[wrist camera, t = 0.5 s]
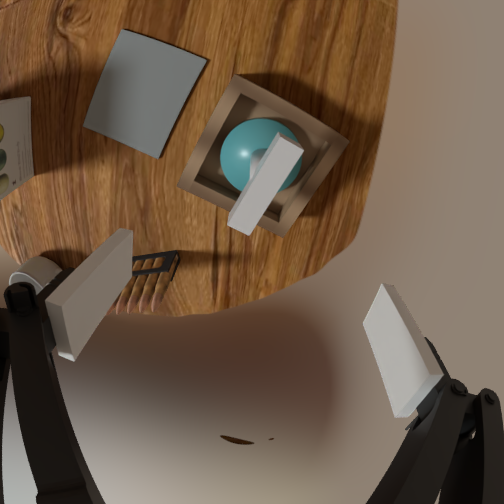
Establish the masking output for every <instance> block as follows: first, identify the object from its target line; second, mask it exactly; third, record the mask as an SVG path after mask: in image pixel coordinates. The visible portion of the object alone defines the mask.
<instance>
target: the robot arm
mask: <svg viewBox="0 0 504 504" xmlns="http://www.w3.org/2000/svg"><path fill="white" fill-rule="evenodd" d="M132 246H133V231H132V230H127V229H123V228H119V229H118V230H117V231H116V232H115V233H114V234H112V235H111V236H110V237H109V238H108V239H107V240H106V241H105V242H104V243H103V244H101V245H100V246H99V247H98V248H97V249H96V250H95V251H94V252H93V253H92V254H91V255H90V256H89V257H88V258H87V259H85V260H84V261H83V262H82V263H81V264H80V265H79V266H78V267H77V268H76V269H74V268H71V267H69V268H67V269H65V270H63V271H61V272H60V273H59V274H58V275H56V276H55V277H54V279H52V280H51V281H50V282H49V284H47V285H46V286H45V287H44V288H43V289H42V290H41V291H40V292H39V293H38V294H37V295H36V291H35V288H34V286H33V285H32V284H31V283H28V282H17V283H13V284H12V285H10V286H8V287H7V289H6V290H5V292H4V298H5V302H6V305H7V309H6V308H0V504H4V495H3V480H2V434H3V417H4V406H5V397H6V390H7V383H8V376H9V369H10V364H11V370H12V380H13V387H14V395H15V402H16V408H17V413H18V419H19V424H20V429H21V433H22V438H23V442H24V446H25V450H26V454H27V457H28V461H29V464H30V467H31V471H32V474H33V477H34V480H35V483H36V486H37V490H38V494H37V496H36V503H37V504H105V502H104V500H103V498H102V496H101V494H100V492H99V490H98V488H97V486H96V484H95V482H94V480H93V478H92V475H91V473H90V471H89V469H88V466H87V464H86V461H85V459H84V457H83V454H82V452H81V449H80V446H79V444H78V441H77V439H76V436H75V433H74V430H73V427H72V424H71V421H70V418H69V416H68V412H67V409H66V406H65V402H64V399H63V395H62V392H61V388H60V384H59V381H58V377H57V372H56V368H55V364H54V360H53V355H52V352H51V351H52V350H53V349H54V347H55V346H56V347H57V350H58V354H59V356H62V357H64V358H67V359H69V360H72V361H75V360H76V358H77V357H78V355H79V353H80V352H81V350H82V349H83V347H84V346H85V344H86V343H87V341H88V339H89V338H90V336H91V335H92V333H93V332H94V330H95V329H96V327H97V326H98V324H99V323H100V321H101V320H102V319H103V317H104V315H105V314H106V313H107V311H108V310H109V308H110V307H111V306H112V304H113V303H114V301H115V300H116V298H117V297H118V296H119V294H120V293H121V291H122V290H123V289H124V287H125V286H126V284H127V283H128V282H129V280H130V279H131V278H132ZM363 325H364V328H365V331H366V333H367V336H368V339H369V342H370V344H371V347H372V350H373V353H374V355H375V358H376V361H377V364H378V367H379V370H380V373H381V376H382V379H383V382H384V385H385V388H386V391H387V394H388V397H389V400H390V403H391V407H392V410H393V413H394V416H395V417H409V416H410V414H412V413H413V411H414V410H415V409H417V412H418V414H419V415H418V416H417V417H416V418H415V419H414V420H413V421H412V422H411V423H410V424H409V425H408V426H407V428H406V429H405V430H408V429H409V428H410V429H409V431H408V433H407V435H406V437H405V439H404V441H403V443H402V445H401V447H400V449H399V450H398V452H397V454H396V456H395V458H394V459H393V461H392V463H391V465H390V467H389V468H388V470H387V471H386V473H385V475H384V477H383V478H382V480H381V481H380V483H379V485H378V486H377V488H376V489H375V491H374V492H373V494H372V496H371V497H370V498H369V500H368V501H367V503H366V504H434V503H435V501H436V499H437V496H438V494H439V491H440V489H441V492H440V497H439V503H438V504H504V430H503V421H502V413H501V407H500V401H499V398H498V396H497V395H496V393H494V391H492V390H490V389H487V388H484V389H482V390H481V392H480V393H479V394H478V395H474V394H470V393H468V390H467V388H466V387H465V385H464V384H463V383H461V382H460V381H459V380H456V379H451V378H450V375H449V373H448V372H447V370H446V368H445V366H444V364H443V362H442V360H440V356H439V355H438V354H437V351H436V349H435V347H434V346H433V344H432V343H431V342H430V341H429V340H428V339H427V338H426V337H424V336H423V335H422V333H421V331H420V329H419V327H418V326H417V324H416V322H415V320H414V319H413V317H412V315H411V313H410V312H409V310H408V309H407V307H406V305H405V304H404V302H403V300H402V298H401V297H400V295H399V293H398V292H397V290H396V289H395V287H394V286H393V285H389V284H384V283H382V284H381V286H380V288H379V291H378V293H377V295H376V297H375V299H374V302H373V303H372V306H371V308H370V310H369V312H368V314H367V316H366V318H365V320H364V322H363ZM475 431H476V432H475ZM474 432H475V436H474V438H473V439H472V434H473V433H474Z"/></svg>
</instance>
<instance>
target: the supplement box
mask: <svg viewBox="0 0 504 504" xmlns="http://www.w3.org/2000/svg"><path fill="white" fill-rule="evenodd" d="M32 177H34V169H33V158H32V141H31V97H30V96H28V97H20V98H13V99H6V100H1V101H0V200H2V199H3V198H4V197H6V196H7V195H8V194H10V193H11V192H12V191H14V190H15V189H16V188H18V187H19V186H21V185H22V184H23V183H25V182H26V181H28V180H29V179H31V178H32Z"/></svg>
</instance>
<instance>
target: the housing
mask: <svg viewBox="0 0 504 504" xmlns="http://www.w3.org/2000/svg"><path fill="white" fill-rule="evenodd" d="M259 117H263V118H270V119H274V120H277V121H279V122H281V123H282V124H284V125H285V126H287V127H288V128H289V129H290V130H291V131H292V133H293V134H294V135H295V137H296V139H297V140H298V142H299V144H300V145H301V146H302V148H303V149H304V152H303V153H302V163H301V168H300V171H299V173H298V175H297V177H296V178H295V180H294V181H293V182H292V183H291V184H290V185H289V186H288V187H287V188H285V189H284V190H282V191H280V192H278V193H276V195H275V196H274V198H273V199H272V201H271V203H270V204H269V206H268V207H267V209H266V210H265V212H264V213H263V215H262V217H261V218H260V220H259V221H258V223H257V224H256V225H258V226H260V227H262V228H264V229H266V230H268V231H270V232H272V233H274V234H276V235H278V236H280V237H282V238H283V237H284V236H285V234H286V233H287V232H288V230H289V229H290V227H291V226H292V224H293V223H294V222H295V220H296V219H297V217H298V216H299V214H300V213H301V212H302V210H303V209H304V207H305V206H306V204H307V203H308V202H309V200H310V199H311V197H312V196H313V194H314V193H315V191H316V190H317V189H318V187H319V186H320V184H321V183H322V181H323V180H324V178H325V177H326V176H327V174H328V173H329V171H330V170H331V168H332V167H333V165H334V164H335V162H336V161H337V160H338V158H339V157H340V155H341V154H342V152H343V151H344V149H345V148H346V146H347V145H348V143H349V142H350V141H349V140H348V139H346V138H345V137H344V136H342V135H341V134H340V133H339V132H337V131H336V130H334V129H333V128H331V127H330V126H328V125H326V124H325V123H323V122H322V121H320V120H319V119H317V118H315V117H314V116H312V115H311V114H309V113H307V112H306V111H304V110H302V109H301V108H299V107H297V106H296V105H294V104H292V103H290V102H289V101H287V100H285V99H283V98H282V97H280V96H278V95H276V94H274V93H273V92H271V91H269V90H267V89H265V88H263V87H261V86H260V85H258V84H256V83H254V82H252V81H250V80H248V79H246V78H244V77H242V76H240V75H238V74H234V76H233V78H232V80H231V81H230V83H229V85H228V87H227V88H226V90H225V92H224V94H223V95H222V97H221V99H220V101H219V103H218V104H217V106H216V108H215V110H214V112H213V114H212V115H211V117H210V119H209V121H208V123H207V125H206V127H205V129H204V131H203V133H202V135H201V137H200V139H199V140H198V142H197V144H196V146H195V148H194V150H193V152H192V155H191V157H190V159H189V161H188V163H187V165H186V167H185V169H184V171H183V173H182V175H181V177H180V180H179V182H178V184H177V187H179V188H181V189H183V190H185V191H187V192H190V193H192V194H194V195H196V196H198V197H200V198H202V199H204V200H206V201H209V202H211V203H213V204H215V205H217V206H219V207H221V208H223V209H225V210H227V211H229V212H230V211H231V210H232V208H233V206H234V205H235V203H236V201H237V199H238V198H239V196H240V194H241V193H242V191H240V190H238V189H237V188H235V187H234V186H233V185H232V184H231V183H230V182H229V181H228V179H227V178H226V176H225V175H224V172H223V170H222V167H221V161H220V154H221V149H222V145H223V143H224V141H225V138H226V137H227V135H228V134H229V132H230V131H231V130H232V129H233V128H234V127H235V126H236V125H238V124H239V123H241V122H243V121H245V120H248V119H252V118H259Z"/></svg>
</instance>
